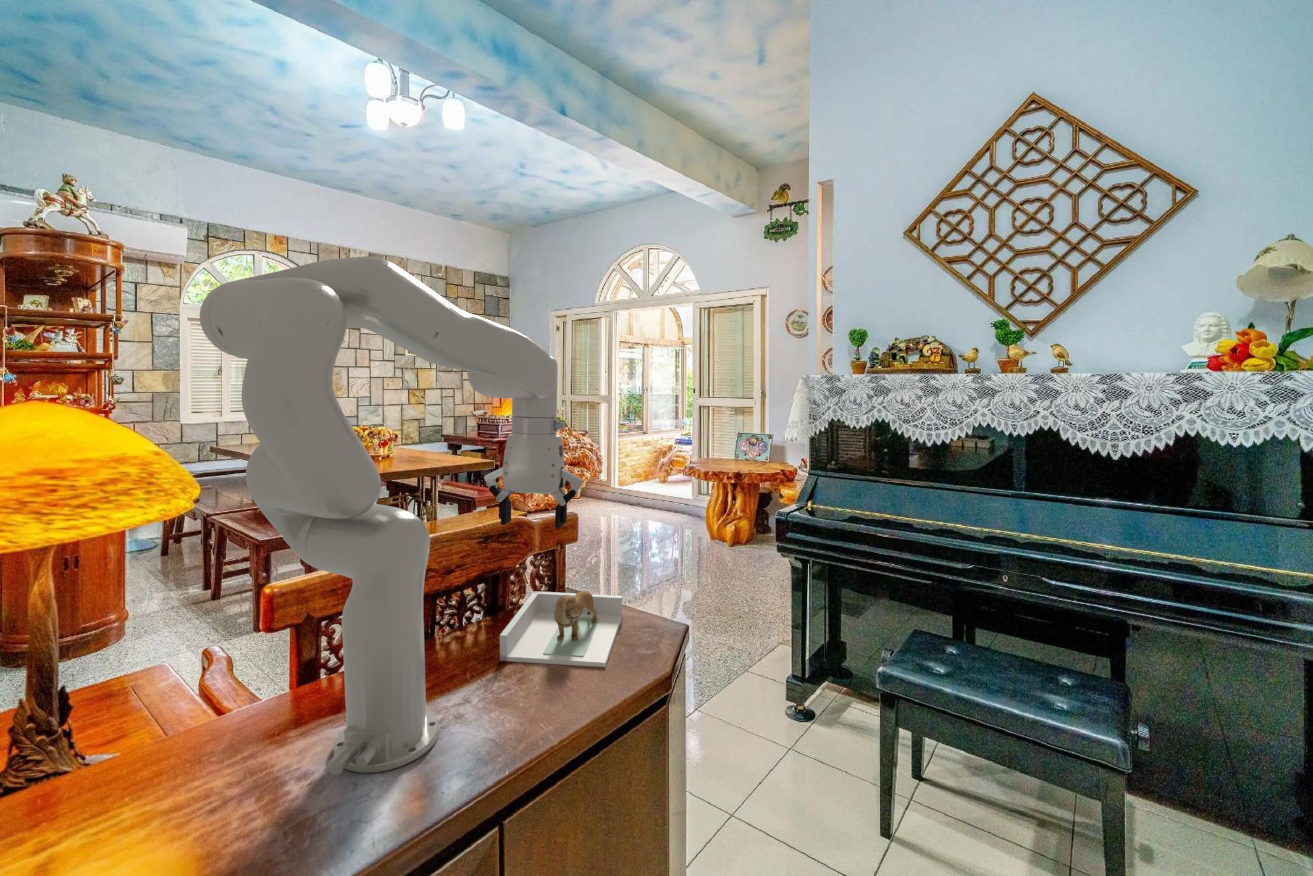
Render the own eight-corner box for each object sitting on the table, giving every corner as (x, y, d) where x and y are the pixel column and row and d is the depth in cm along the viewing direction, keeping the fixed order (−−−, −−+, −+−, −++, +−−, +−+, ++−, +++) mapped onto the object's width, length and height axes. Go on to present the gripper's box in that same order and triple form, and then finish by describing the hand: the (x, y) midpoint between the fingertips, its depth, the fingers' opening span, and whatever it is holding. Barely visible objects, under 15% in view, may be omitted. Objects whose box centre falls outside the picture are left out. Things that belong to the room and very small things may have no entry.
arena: (605, 667, 99) (605, 641, 99) (499, 660, 101) (499, 635, 100) (622, 617, 119) (622, 595, 118) (534, 612, 120) (533, 591, 120)
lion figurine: (577, 652, 102) (577, 601, 101) (547, 648, 103) (547, 598, 102) (601, 617, 116) (601, 572, 115) (575, 614, 117) (575, 570, 116)
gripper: (588, 428, 105) (586, 523, 106) (494, 423, 107) (493, 517, 108) (578, 431, 98) (575, 533, 99) (477, 426, 99) (476, 527, 101)
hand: (532, 525), depth 104 cm, fingers open, 9 cm apart
